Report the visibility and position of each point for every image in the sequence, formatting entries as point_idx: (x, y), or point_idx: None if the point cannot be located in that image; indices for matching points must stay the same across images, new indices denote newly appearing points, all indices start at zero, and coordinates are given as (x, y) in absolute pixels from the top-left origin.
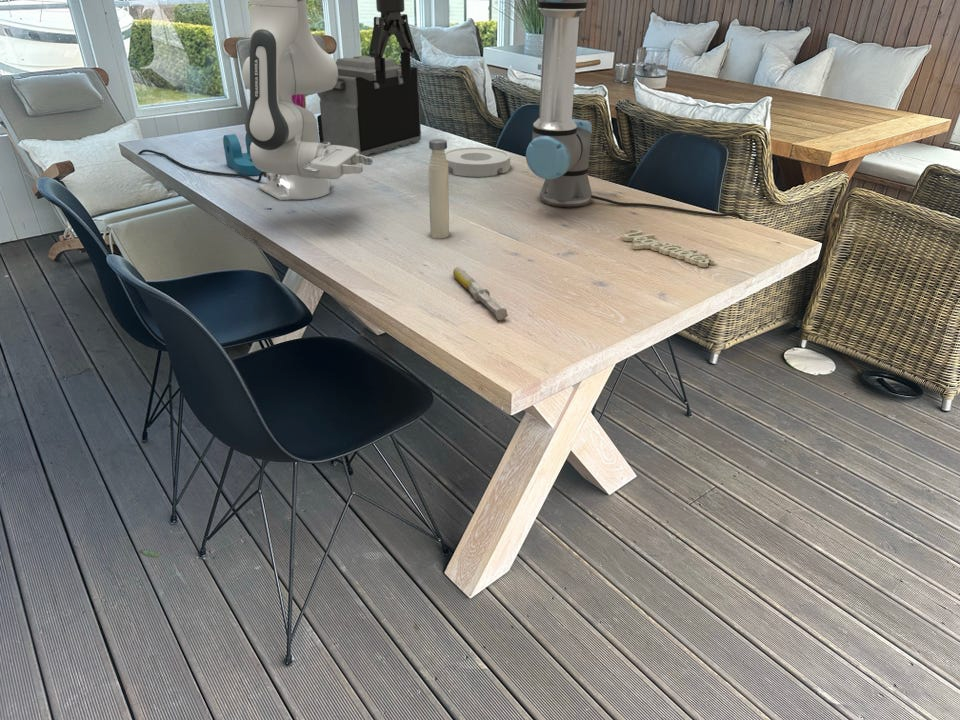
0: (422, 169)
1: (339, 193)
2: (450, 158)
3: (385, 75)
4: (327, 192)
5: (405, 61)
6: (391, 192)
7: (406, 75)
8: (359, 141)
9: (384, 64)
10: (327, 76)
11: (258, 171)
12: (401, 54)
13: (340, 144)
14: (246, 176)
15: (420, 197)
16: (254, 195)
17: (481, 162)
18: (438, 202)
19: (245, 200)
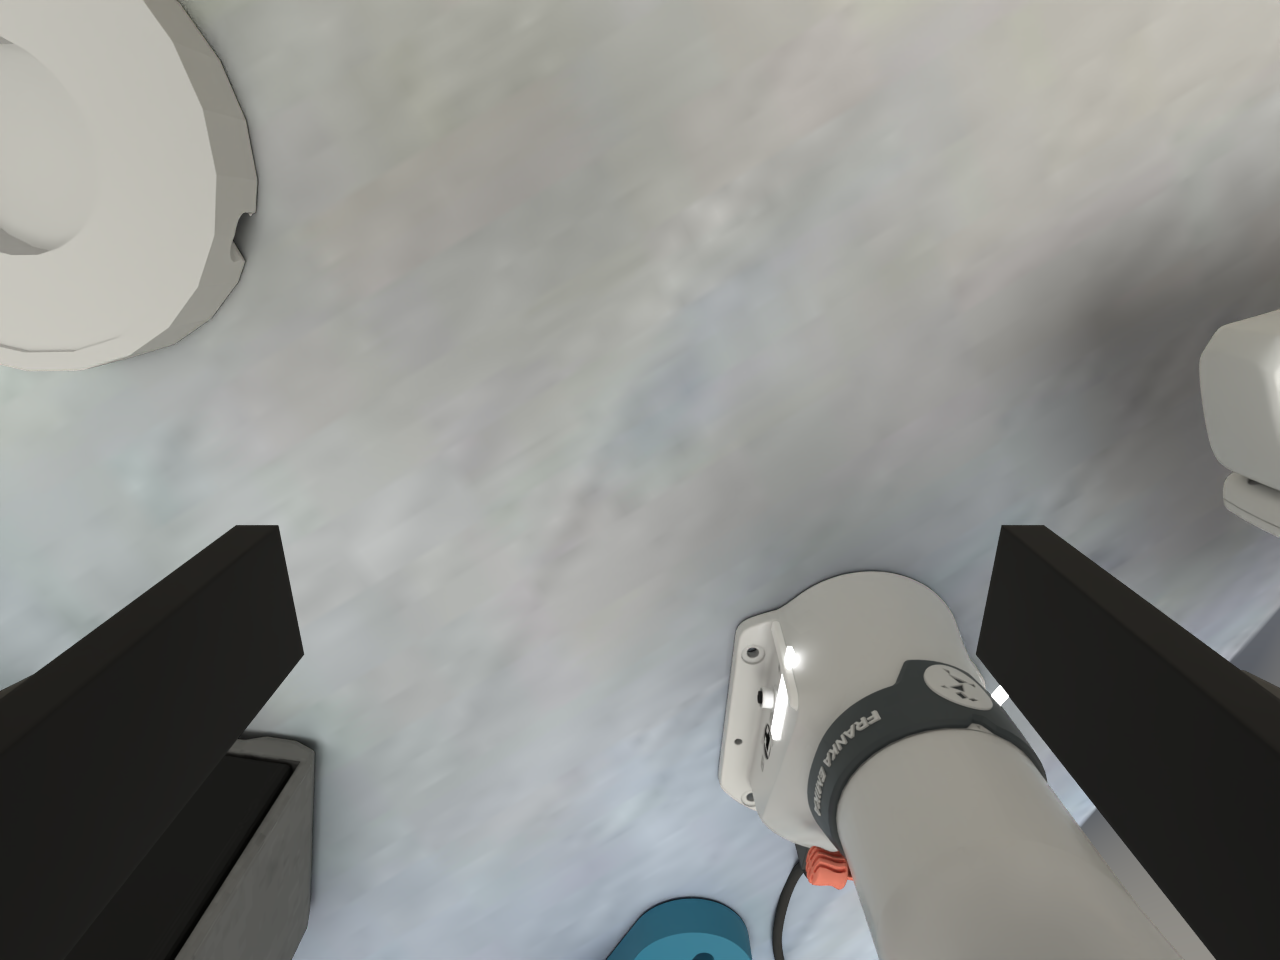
0: (276, 415)
1: (810, 542)
2: (142, 279)
3: (1079, 580)
4: (848, 577)
5: (134, 743)
6: (699, 346)
7: (277, 587)
8: (278, 800)
9: (1241, 706)
10: None
11: (728, 918)
12: (45, 952)
13: (300, 868)
14: (783, 919)
15: (710, 164)
16: None
17: (81, 37)
18: None
19: None
